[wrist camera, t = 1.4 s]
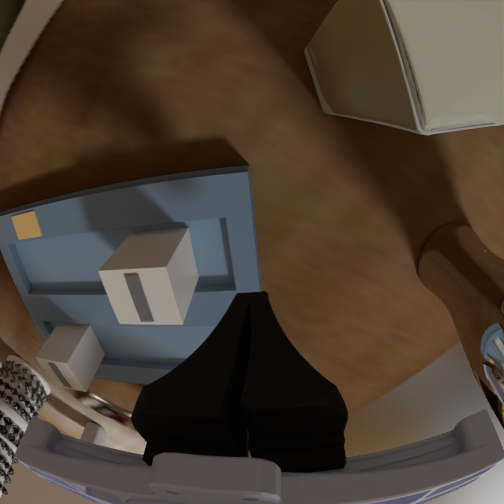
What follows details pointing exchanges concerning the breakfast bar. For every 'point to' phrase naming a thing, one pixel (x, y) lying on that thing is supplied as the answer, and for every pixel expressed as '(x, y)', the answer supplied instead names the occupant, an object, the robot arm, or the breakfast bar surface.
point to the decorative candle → (17, 408)
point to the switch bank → (106, 243)
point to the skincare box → (412, 63)
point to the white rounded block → (94, 434)
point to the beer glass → (470, 301)
